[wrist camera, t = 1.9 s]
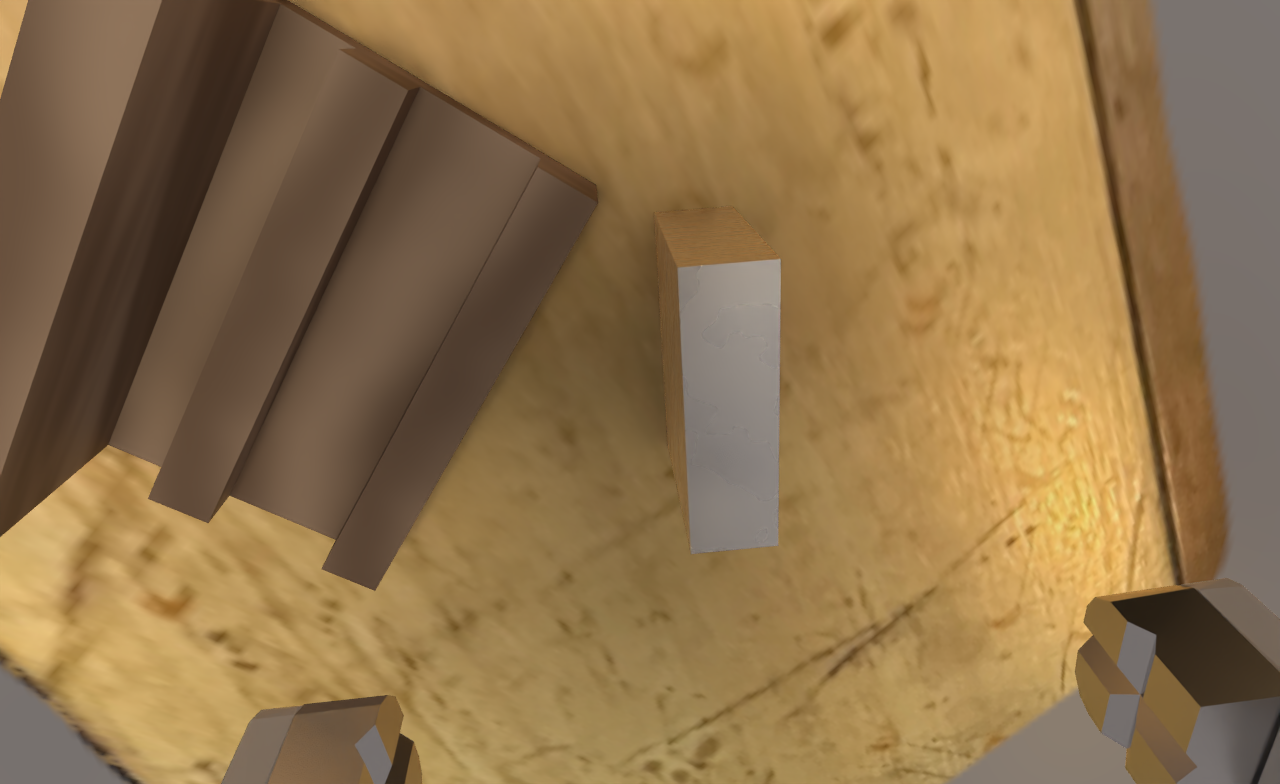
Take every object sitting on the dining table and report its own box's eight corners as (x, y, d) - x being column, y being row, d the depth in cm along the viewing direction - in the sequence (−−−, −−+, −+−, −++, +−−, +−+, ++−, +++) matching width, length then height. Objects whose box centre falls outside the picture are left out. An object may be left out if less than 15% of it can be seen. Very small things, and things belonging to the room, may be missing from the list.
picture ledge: (595, 185, 29) (602, 241, 21) (393, 540, 35) (336, 694, 27) (221, -40, 25) (50, -78, 17) (64, 400, 31) (-121, 527, 23)
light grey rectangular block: (737, 205, 30) (787, 258, 23) (740, 437, 34) (783, 545, 27) (654, 212, 30) (677, 267, 22) (667, 443, 34) (690, 553, 27)
